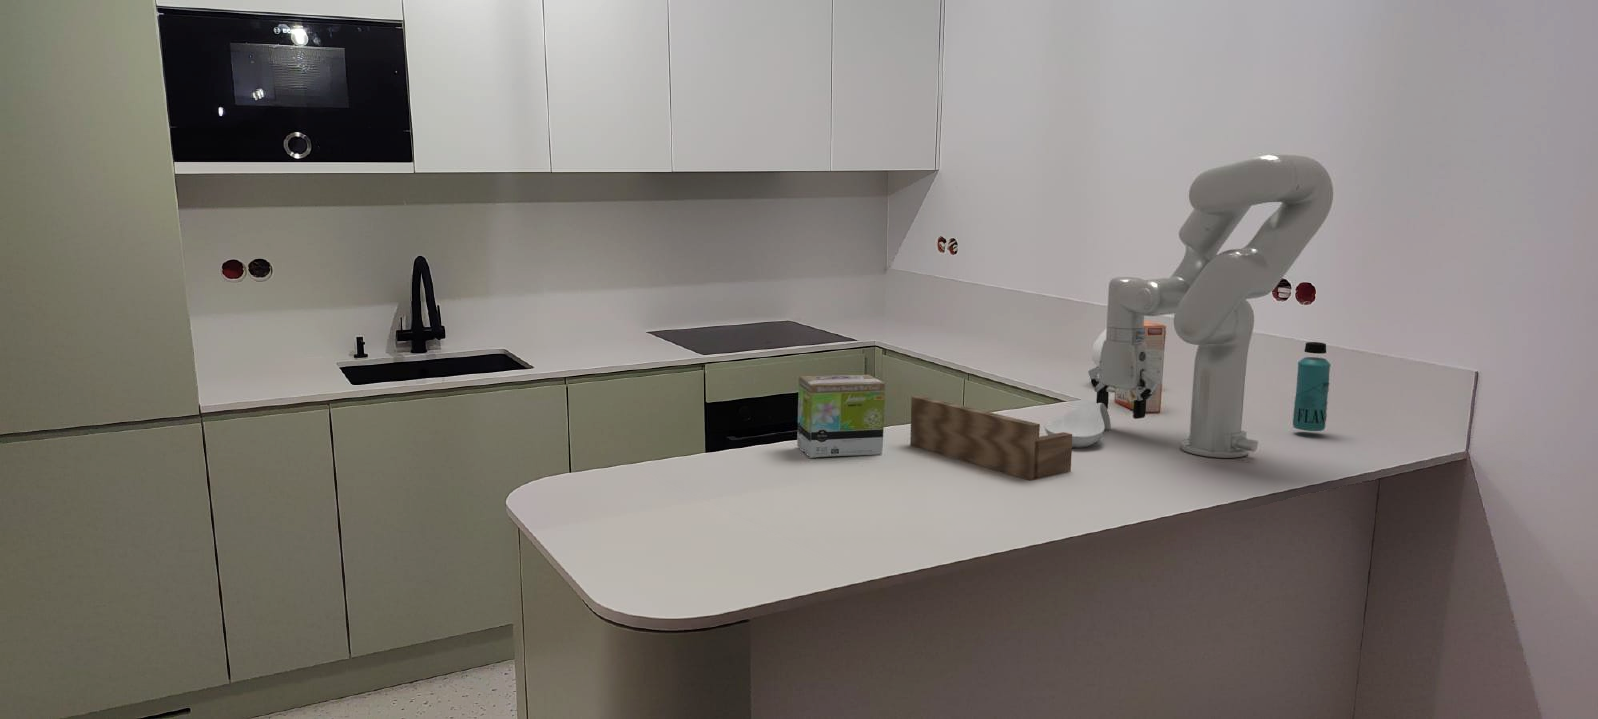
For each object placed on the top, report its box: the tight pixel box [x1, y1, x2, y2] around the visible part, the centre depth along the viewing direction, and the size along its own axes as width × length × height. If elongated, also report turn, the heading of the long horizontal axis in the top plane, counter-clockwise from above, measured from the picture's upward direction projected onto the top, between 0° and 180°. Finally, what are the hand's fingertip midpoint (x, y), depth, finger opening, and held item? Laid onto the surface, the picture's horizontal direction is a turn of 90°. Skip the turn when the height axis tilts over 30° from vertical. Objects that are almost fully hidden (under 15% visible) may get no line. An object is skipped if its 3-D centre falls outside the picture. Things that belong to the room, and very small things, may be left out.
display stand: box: [909, 395, 1073, 481], centre depth 200 cm, size 32×11×10 cm, turn 35°
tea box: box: [796, 374, 886, 459], centre depth 204 cm, size 15×10×15 cm, turn 105°
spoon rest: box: [1044, 400, 1112, 448], centre depth 216 cm, size 24×12×7 cm, turn 148°
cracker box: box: [1114, 319, 1167, 414], centre depth 248 cm, size 14×6×21 cm, turn 6°
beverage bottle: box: [1292, 341, 1331, 432], centre depth 220 cm, size 6×7×20 cm
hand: (1120, 413), depth 223 cm, fingers open, 9 cm apart
